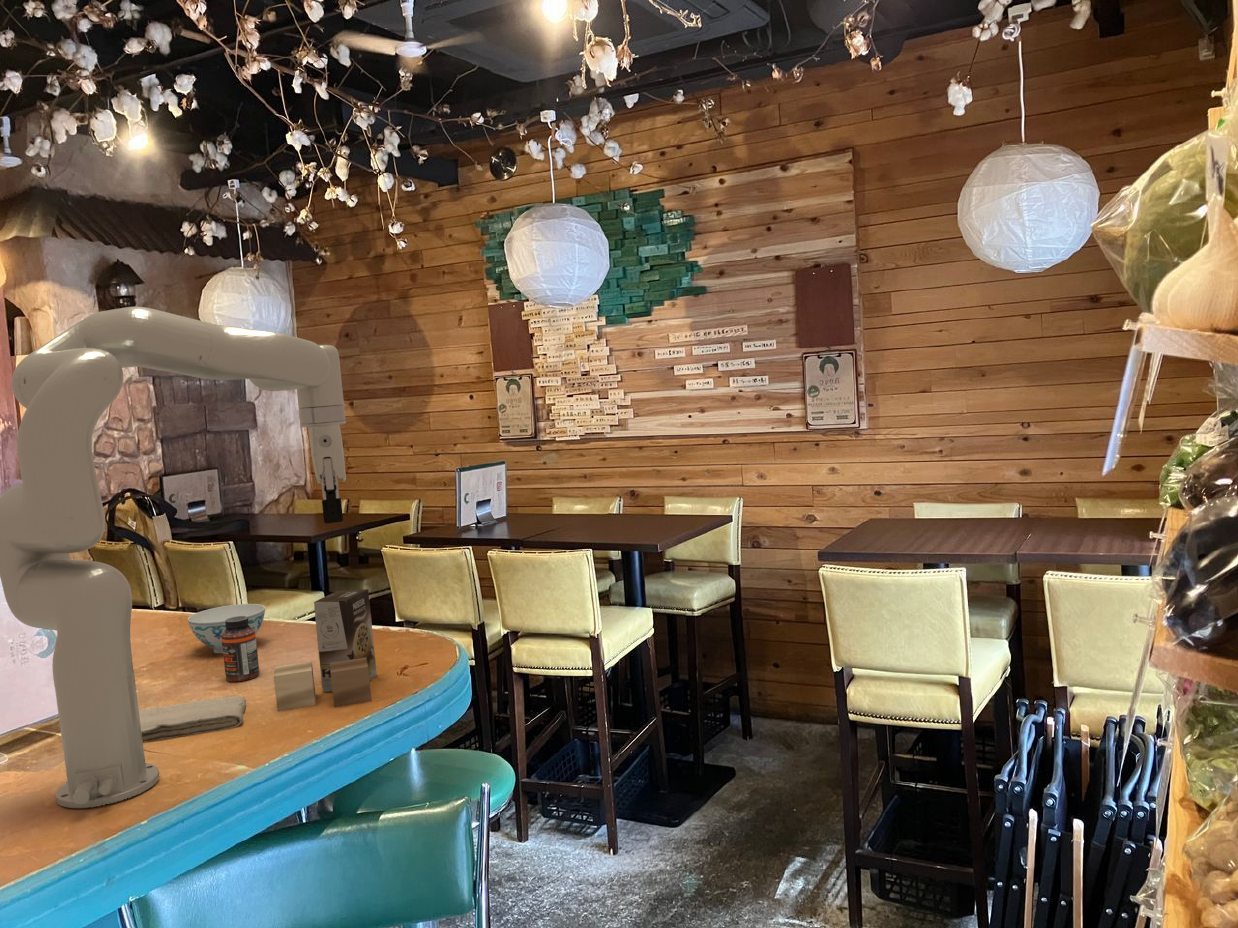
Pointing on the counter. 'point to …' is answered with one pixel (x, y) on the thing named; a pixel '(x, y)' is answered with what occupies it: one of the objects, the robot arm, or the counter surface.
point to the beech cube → (294, 685)
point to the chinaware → (223, 622)
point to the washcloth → (191, 718)
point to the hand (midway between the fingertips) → (333, 521)
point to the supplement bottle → (239, 650)
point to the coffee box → (344, 631)
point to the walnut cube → (350, 682)
